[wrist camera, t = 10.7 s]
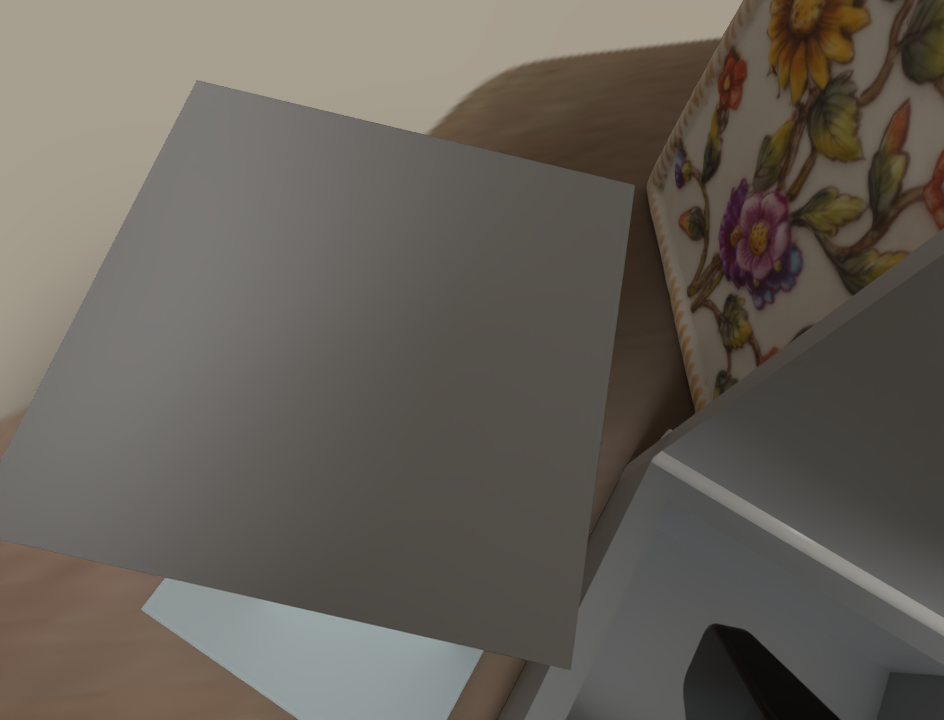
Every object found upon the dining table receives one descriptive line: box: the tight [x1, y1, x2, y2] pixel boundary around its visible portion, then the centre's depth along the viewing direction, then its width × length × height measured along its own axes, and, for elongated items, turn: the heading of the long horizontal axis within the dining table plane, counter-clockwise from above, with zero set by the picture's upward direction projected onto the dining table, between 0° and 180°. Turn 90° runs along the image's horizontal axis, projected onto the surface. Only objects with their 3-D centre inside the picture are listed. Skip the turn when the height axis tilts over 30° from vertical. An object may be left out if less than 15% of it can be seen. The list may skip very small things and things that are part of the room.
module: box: [0, 81, 635, 670], centre depth 12 cm, size 5×5×12 cm
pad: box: [141, 578, 484, 720], centre depth 18 cm, size 10×8×1 cm
